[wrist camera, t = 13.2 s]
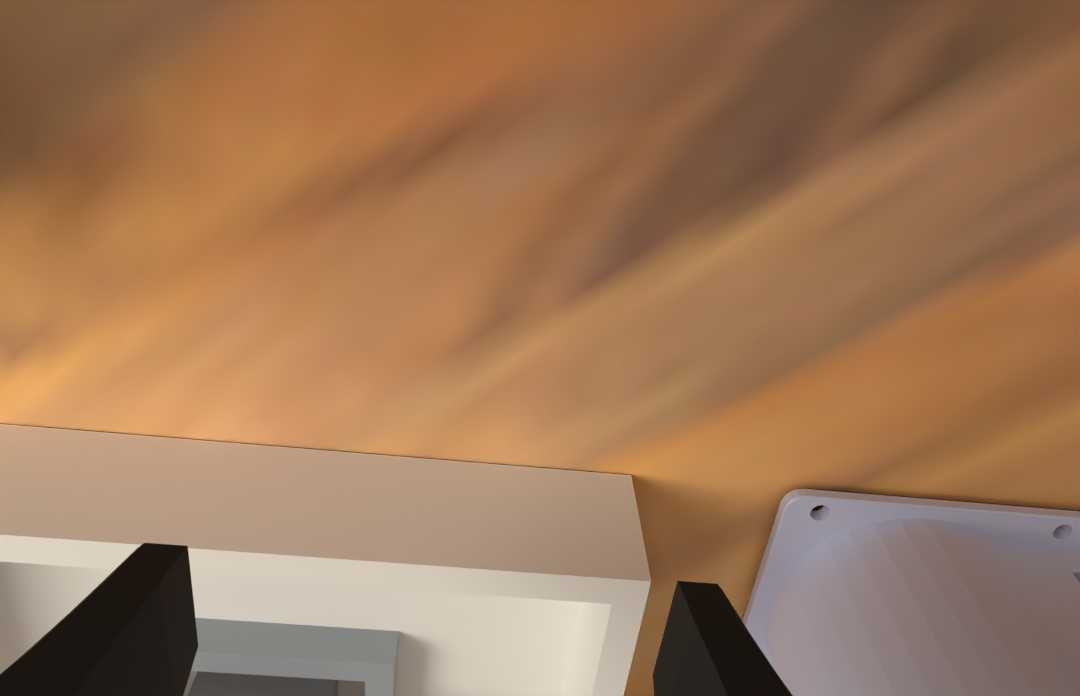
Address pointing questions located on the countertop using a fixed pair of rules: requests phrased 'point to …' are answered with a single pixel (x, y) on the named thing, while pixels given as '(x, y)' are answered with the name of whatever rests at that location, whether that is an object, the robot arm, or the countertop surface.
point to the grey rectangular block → (259, 685)
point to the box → (337, 560)
